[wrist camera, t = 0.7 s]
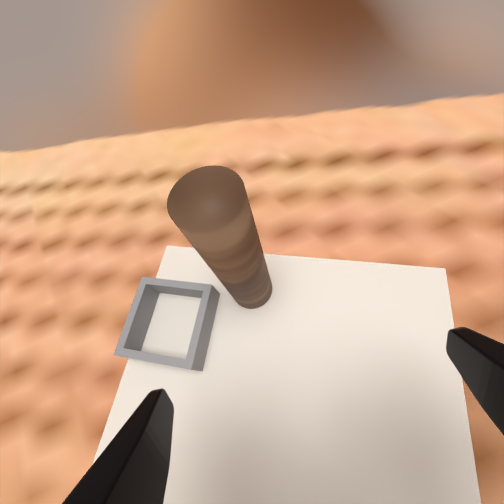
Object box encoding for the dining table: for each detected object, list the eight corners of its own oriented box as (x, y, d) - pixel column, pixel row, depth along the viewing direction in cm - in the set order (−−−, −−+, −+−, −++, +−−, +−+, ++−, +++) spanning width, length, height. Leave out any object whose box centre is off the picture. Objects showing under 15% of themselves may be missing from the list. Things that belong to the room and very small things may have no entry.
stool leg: (269, 311, 22) (236, 233, 11) (228, 306, 23) (156, 228, 11) (274, 271, 24) (251, 165, 12) (236, 268, 24) (179, 165, 13)
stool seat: (497, 761, 13) (588, 934, 9) (70, 580, 18) (6, 635, 14) (434, 277, 23) (462, 255, 19) (175, 254, 29) (155, 233, 25)
